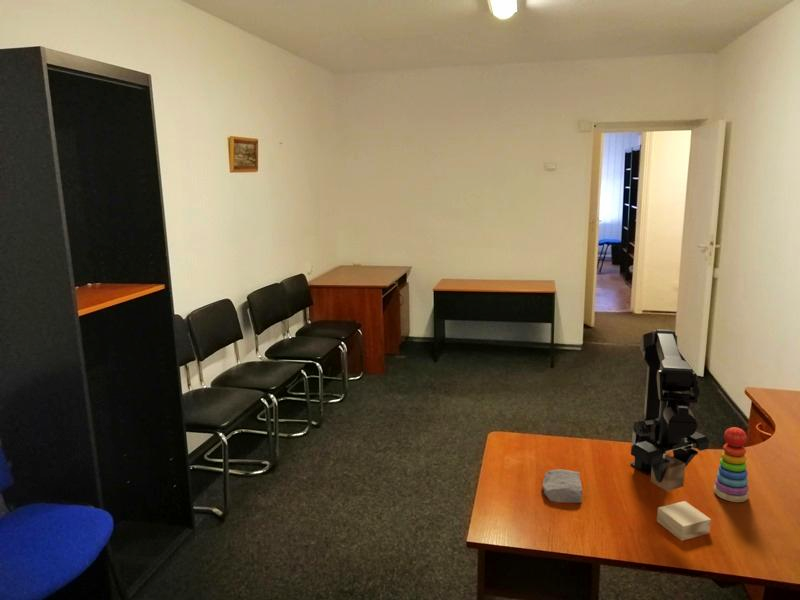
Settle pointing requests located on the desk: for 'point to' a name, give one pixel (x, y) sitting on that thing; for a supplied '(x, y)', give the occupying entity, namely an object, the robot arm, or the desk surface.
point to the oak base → (683, 520)
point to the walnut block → (671, 474)
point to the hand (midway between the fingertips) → (667, 479)
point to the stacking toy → (733, 468)
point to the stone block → (563, 486)
